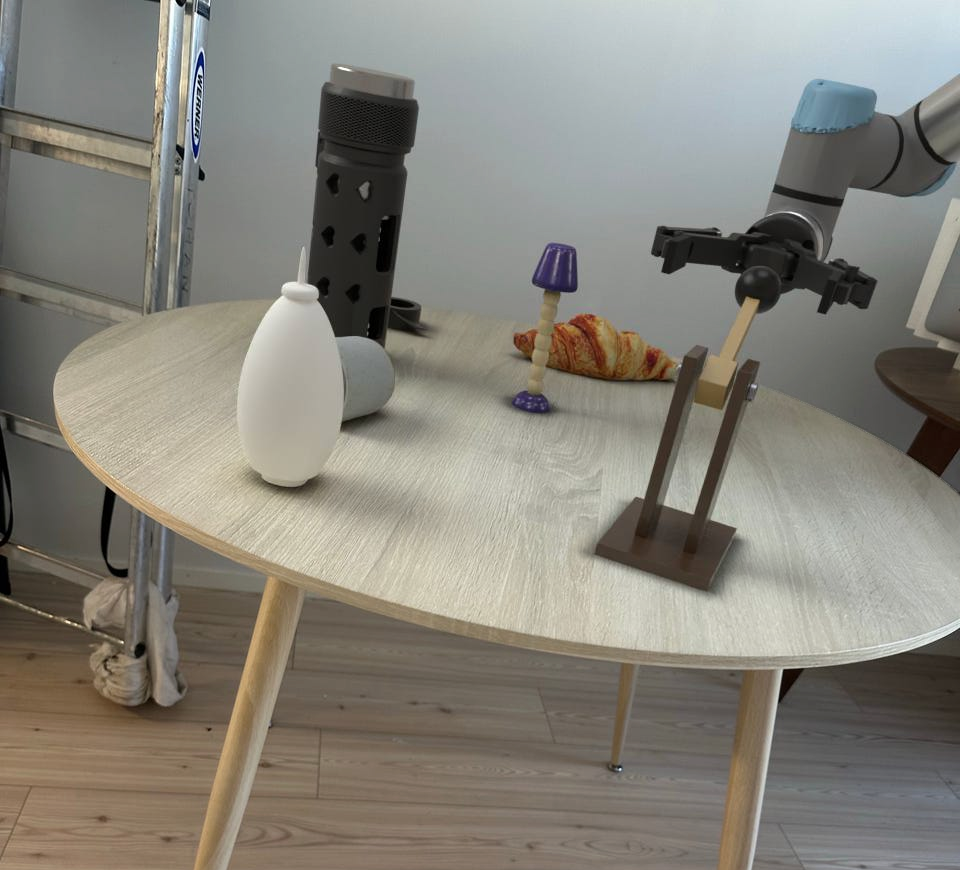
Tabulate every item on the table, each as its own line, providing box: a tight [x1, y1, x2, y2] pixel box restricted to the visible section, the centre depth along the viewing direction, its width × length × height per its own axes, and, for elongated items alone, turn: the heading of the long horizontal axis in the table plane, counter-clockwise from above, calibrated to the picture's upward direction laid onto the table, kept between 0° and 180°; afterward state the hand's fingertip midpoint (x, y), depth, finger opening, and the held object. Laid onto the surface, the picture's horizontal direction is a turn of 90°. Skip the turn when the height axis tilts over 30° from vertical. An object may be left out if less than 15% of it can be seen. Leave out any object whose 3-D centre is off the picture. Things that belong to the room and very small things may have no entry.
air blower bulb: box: [236, 246, 344, 488], centre depth 76 cm, size 8×8×18 cm
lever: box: [693, 266, 782, 411], centre depth 78 cm, size 14×4×4 cm, turn 158°
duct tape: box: [387, 296, 427, 332], centre depth 127 cm, size 8×10×3 cm
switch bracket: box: [593, 344, 761, 593], centre depth 79 cm, size 12×9×16 cm
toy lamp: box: [511, 242, 579, 414], centre depth 104 cm, size 5×5×17 cm
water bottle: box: [306, 63, 420, 350], centre depth 105 cm, size 10×28×10 cm
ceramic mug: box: [335, 336, 396, 423], centre depth 95 cm, size 11×8×8 cm
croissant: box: [512, 313, 679, 381], centre depth 125 cm, size 21×10×8 cm, turn 97°
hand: (746, 276), depth 86 cm, fingers open, 13 cm apart
